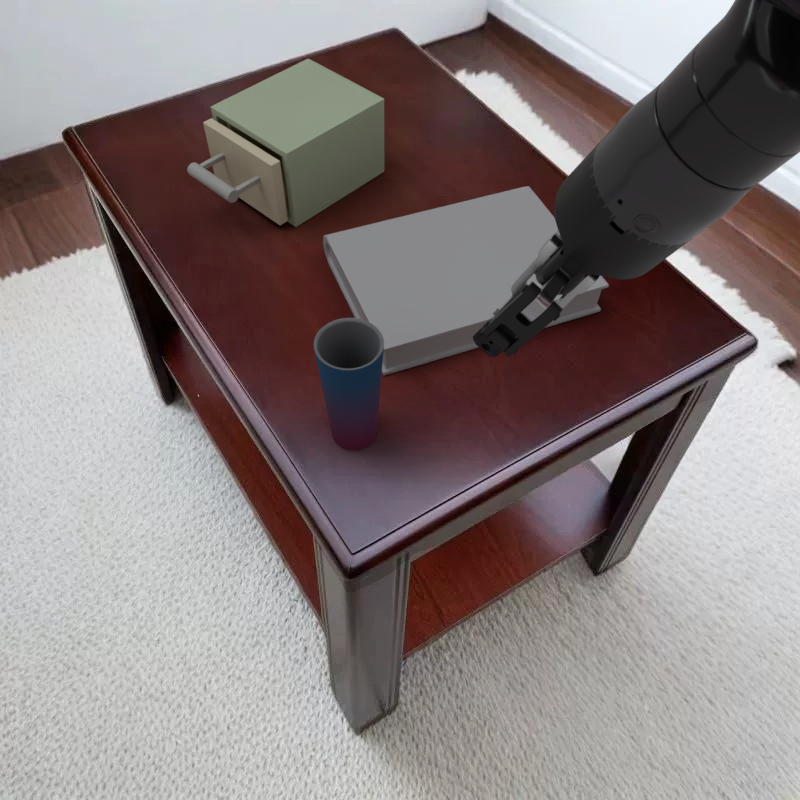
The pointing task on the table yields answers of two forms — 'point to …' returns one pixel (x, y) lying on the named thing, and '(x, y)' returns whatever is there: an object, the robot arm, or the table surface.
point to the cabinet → (312, 132)
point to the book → (444, 273)
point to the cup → (350, 378)
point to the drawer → (243, 171)
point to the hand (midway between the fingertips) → (513, 309)
